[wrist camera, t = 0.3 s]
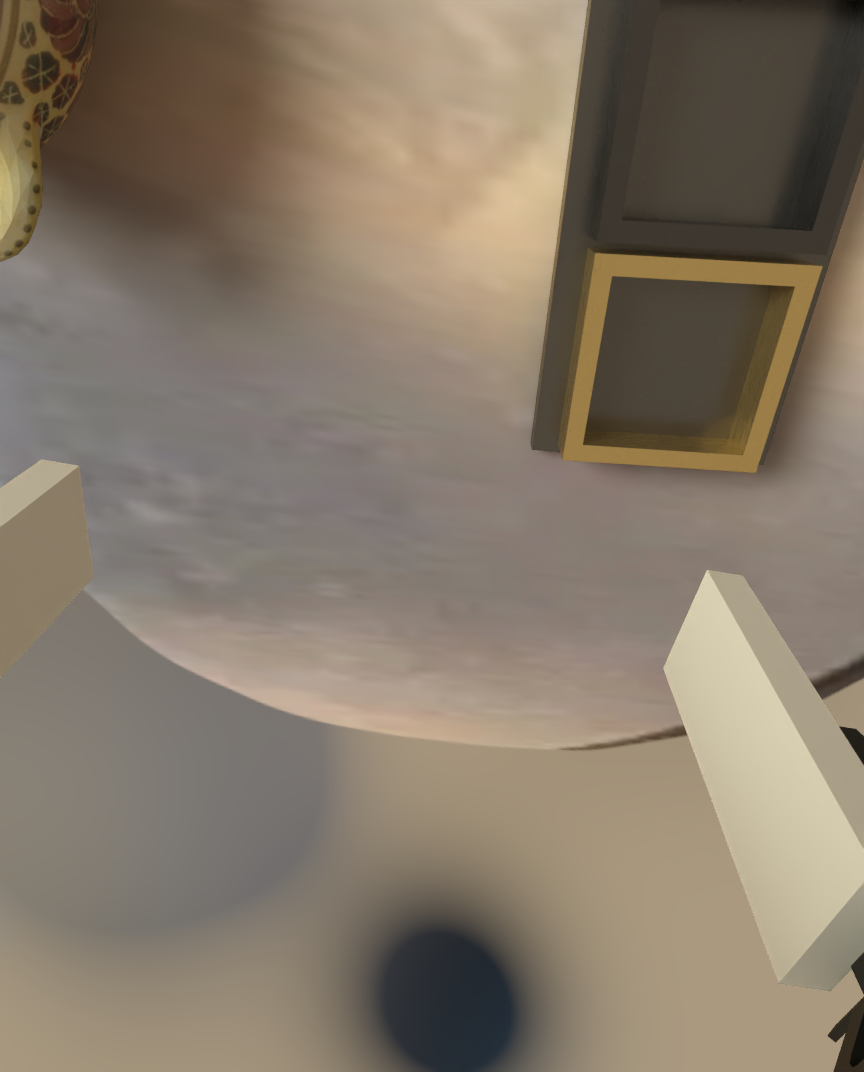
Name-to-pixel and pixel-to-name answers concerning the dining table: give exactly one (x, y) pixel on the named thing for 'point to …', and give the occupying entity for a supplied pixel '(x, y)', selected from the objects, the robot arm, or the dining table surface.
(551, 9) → the dining table surface
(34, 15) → the ceramic bowl
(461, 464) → the dining table surface
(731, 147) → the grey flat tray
